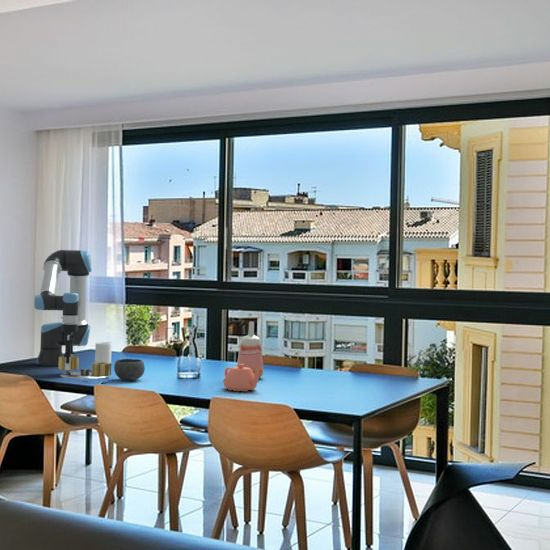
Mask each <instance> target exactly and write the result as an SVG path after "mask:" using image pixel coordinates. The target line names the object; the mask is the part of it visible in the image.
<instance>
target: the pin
mask: <svg viewBox="0 0 550 550" xmlns="http://www.w3.org/2000/svg"><path fill="white" fill-rule="evenodd" d="M71 372H72V370H65V373H66V375H71Z"/></svg>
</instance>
